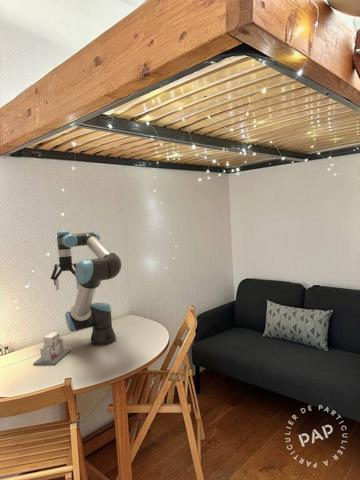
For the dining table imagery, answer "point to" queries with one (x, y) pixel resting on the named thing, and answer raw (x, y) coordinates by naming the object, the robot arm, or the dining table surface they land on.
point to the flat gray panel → (46, 355)
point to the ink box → (53, 343)
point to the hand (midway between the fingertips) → (68, 289)
